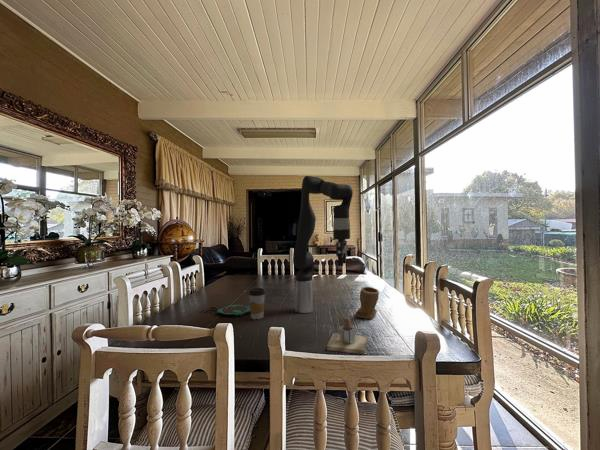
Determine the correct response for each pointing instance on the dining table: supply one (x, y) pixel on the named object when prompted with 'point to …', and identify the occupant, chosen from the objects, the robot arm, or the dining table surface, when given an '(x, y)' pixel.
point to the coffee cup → (257, 302)
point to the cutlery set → (234, 310)
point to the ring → (347, 335)
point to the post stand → (351, 348)
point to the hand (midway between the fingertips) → (342, 264)
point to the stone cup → (367, 302)
